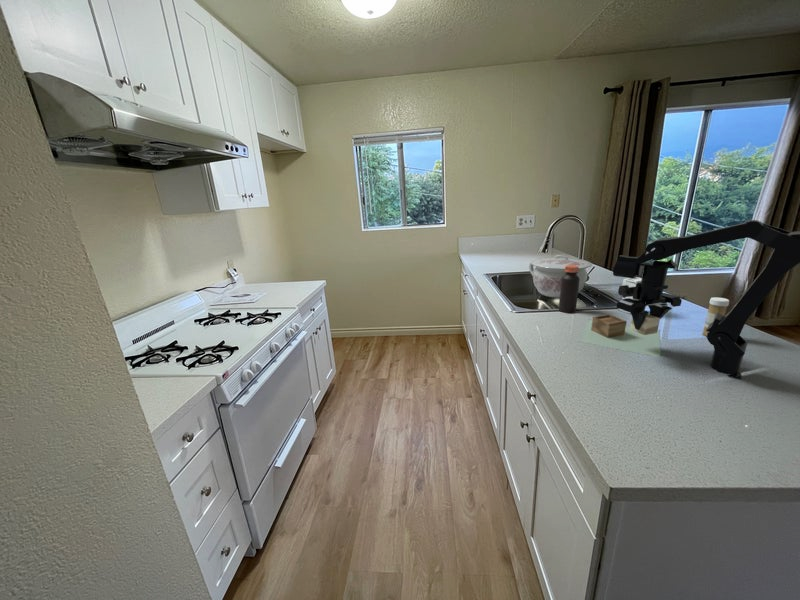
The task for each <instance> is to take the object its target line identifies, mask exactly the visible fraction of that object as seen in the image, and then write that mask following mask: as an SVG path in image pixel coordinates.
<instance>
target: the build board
mask: <svg viewBox="0 0 800 600" xmlns="http://www.w3.org/2000/svg"><path fill="white" fill-rule="evenodd" d="M592 320H593V319H589V320H588V323H587V324H586V327H585V329H584V331H583V333H582V335H581V337H580V340H579V343H584V344H588V345H593V346H600V347H605V348H609V349H615V350H621V351H625V352H629V353H635V354H641V355H643V356H644V355H645V356H649V357H655V358H661V333H660V332H661V331H660V330H659V329H658V331H657V333H654V334H648V335H643V334H640V333H638V332H635V331H633V330H630V325H628V324H626V328H625V334H624V335H621V336H616V337H610V338H606V337H604V336H602V335H600V334H598V333H596V332H594V331H591V328H592Z"/></svg>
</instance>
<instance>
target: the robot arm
mask: <svg viewBox="0 0 800 600" xmlns="http://www.w3.org/2000/svg"><path fill="white" fill-rule="evenodd" d="M746 238H747V239H751V240H753V241H755V242H757V243H760V244H762V245H765V246H767V247H769V248H772V249H773V250H772V252H771V254H770V256H769V258H768V260H767V263H766V265H765V267H764V268H763V269H762V270H761V271H760V273H759V274H758V276H757V277H755V279H754V280H753V281H752V283H751V284H750V285H749V287H748V288H747V289H746V290H745V292H744V293H743V295H741V297H740V298H739V300H738V301H737V302H736V304H735V305H734V306H733V307H732V308H731V310H730V311H729V312H727V313H725V316H723V315H721V314H719V313H718V315H717V316H716V318H715V320H714V321H713V322H712V323H710V324H709V326H708V328H707V330H706V331H709V332H708V334H707V336H706V339H707V341H708V343H710V344H711V346H713V354H712V357H711V360H710V361H711V362H710V364H709V367H710V368H711V369H712V370H714V371H716V372H717V373H719V374H726V377H731V378H736V379H741V380H742V379H743V376H742V373H741V372H740V369H741V366H742V362H743V358H744V355H745V354H746V350H747V347H748V342H747V341H746V340H745V338H743V337H742V335H741V333H742V331H743V329H744V327H745V325H746V323H747V320H749V318H750V317H751V316H752V315H753V314H754V312H755V311H757V308H758V307H759V306H760V305H761V304H762V303H763V301H764V300H765V299H766V298H767V297H768V295H769V294H770V293H771V292H772V291H773V290H774V288H775V287H776V286H777V284H779V282H780V281H781V279H783V277H784V276H785V275H786V274H787V273H789V272H790V271H791V270H792V269H794V268H795V267H796V266H798V265H799V264H800V231H788V230H786V229H782V228H779V227H776V226H774V225H773V226H772V225H769V224H767V223H764V222H762V221H760V220H757V219H750V220H747V221H745V222H742V223H737V224H733V225H729V226H726V227H724V226H723V227H721V228H716V229H712V230H707V231H703V232H700V233H695V234H691V235H685V236H672V237H663V238H657V239H656V240H653V241H651V242H649V243H648V244H647V245H646V247H645V248H644V249H645V250H644V252H643V253H642V254H640V255H639V256H638V257H637V256H627V255H623V254H622V255H618V256H617V260H616V261H615V264H614V266H613V269H612V275H613V277H618V278H619V277H620V278H634V279H635V278H636V277H640V276H641V275H642V276H641V278H642V280H641V282H639V283H637V284H636V287H629V286H628V285H623V284H622V285H623V286H622V285H619V287H618V289H617V290H618V291H617V292H618V293H617V294H618V295H619V296H621V295H622V296H623V298H625V297H631V296H633V298H634V299H639V301H636V300H633V299H630V298H627V299H621V300H620V299H619V300H617V302H616V308H617V309H618V308H619V309H622V310H625V311H627V312H630V313H631V314H630V315H631V319H632V318H633V322H634V326H635V329H637V330H639V329H640V328H641V326H642V324H643V322H644V320H645V318H646V317H647V315H648V314H650V315H653V316H656V317H659V318H660V320H661V319H662V318H663V317H664V316H665V315H666V314H667V313H668V312H670V311H671V310H673V307H681V305H682V301H683V300H682V299H681V297H680V296H679V295H675V294H670V293H668V292H667V293H666V292H664V290H668V288H669V285H668V284H666V280H667V275H668V270H669V269H675V268H677V267H678V264H677V263H676V262H674V260H673V258H671V259H669V260H667V261H665V260H664V259H667V258H669V257H673V256H675V255H678V254H681V253H684V252H686V251H689V250H694V249H699V248H702V247H703V248H704V247H707V246H712V245H713V246H714V245H717V244H723V243H727V242H732V241H736V240H741V239H746ZM651 260H653V262H650V261H651ZM648 261H649V262H648ZM669 304H670V306H669ZM671 306H672V307H671ZM647 307H648V309H649V311H647V310H646V309H647Z"/></svg>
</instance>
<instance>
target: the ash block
mask: <svg viewBox="0 0 800 600" xmlns="http://www.w3.org/2000/svg"><path fill="white" fill-rule="evenodd" d="M660 322H661V319H660V318H659V317H656V316H653V315H650V313H648V315H647V317H646V318H645V320H644V322H643V324H642V326H641V328H640V329H639V330H637V329H635V326H634V322H633V318H632V317H631V321H630V325H629V326H630V330H633V331H635V332H638V333H640V334H643V335H648V334H654V333H657V331H658V330H659V325H660Z"/></svg>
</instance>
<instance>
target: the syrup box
mask: <svg viewBox="0 0 800 600" xmlns="http://www.w3.org/2000/svg"><path fill="white" fill-rule="evenodd" d="M622 280H623V281H622V285H621V286H623V285H628V286H629V287H636V284H637V283H639V282H641V280H642V277H639V276H636V278H635V279H634V278H626V277H623V279H622ZM619 296H620V297H619V300H621V299H627V298H630V299H633V300H636V301H639V299H634V298H633V296H631V297H625V298H623V296H622V295H619ZM617 310H618V311H619V312H623V313H625V314H629V315H631V313H630V312H627V311H625V310H622V309H619V308H617Z"/></svg>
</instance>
